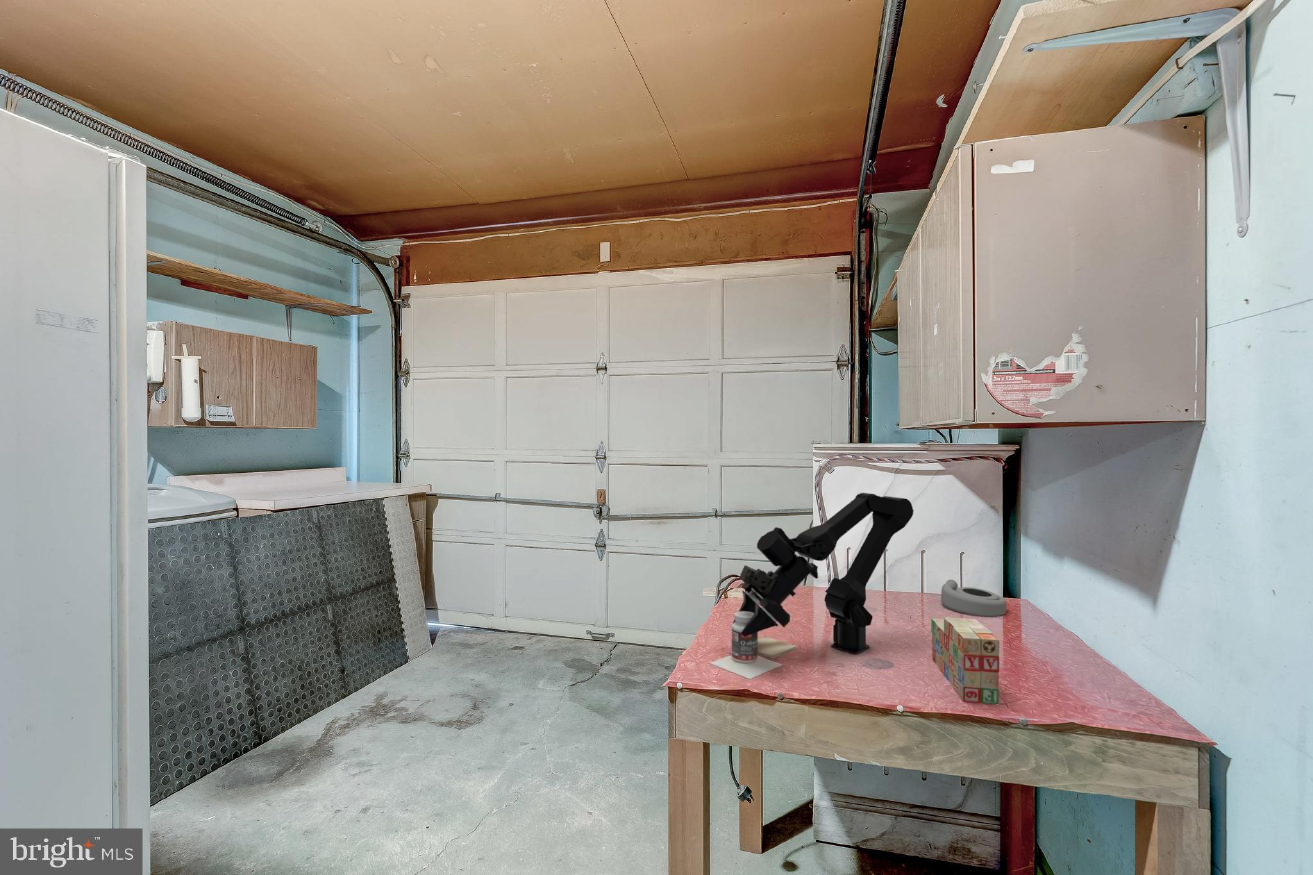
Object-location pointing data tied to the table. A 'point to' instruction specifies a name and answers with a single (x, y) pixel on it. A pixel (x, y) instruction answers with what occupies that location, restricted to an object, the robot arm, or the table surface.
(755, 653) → the pill bottle
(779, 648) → the oak coaster
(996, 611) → the turbocharger housing
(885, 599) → the table surface
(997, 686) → the stack of blocks
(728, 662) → the card
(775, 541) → the robot arm
